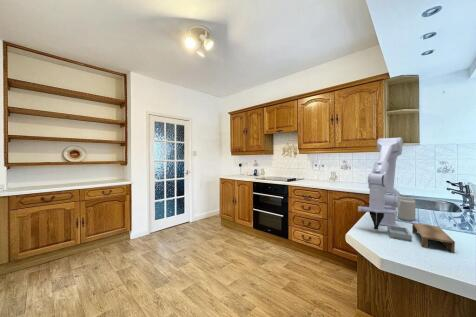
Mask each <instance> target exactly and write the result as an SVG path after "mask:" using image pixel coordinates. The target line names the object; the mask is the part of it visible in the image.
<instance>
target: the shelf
mask: <svg viewBox="0 0 476 317" xmlns="http://www.w3.org/2000/svg"><path fill="white" fill-rule="evenodd" d="M411 227H412V230H411V232H412V234H419V236H420V237H421V238H420V240H421V245H420V246H421V248H425V249H428V242H429V240H431V241H436V242H437V241H438V242H441V243H442V244H443V245H444V246H445V247H446V249H447V250H448V251H449V252H450V253H452V254H455V248H456V247H455V246H456V244H455V243H456V241H455V240H454V239H453V238H451V237H450V235H448V234H447V233H446V232H445V231H444V230H443V229H442V228H441V227H440V226H439V225H438V226H437V225H430V224H422V223H416V222H412V226H411Z"/></svg>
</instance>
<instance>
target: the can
mask: <svg viewBox="0 0 476 317" xmlns="http://www.w3.org/2000/svg"><path fill="white" fill-rule="evenodd" d="M416 203H417V202H416V200H415V198H413V197H410V196H400V205H399V207H397V218H398V219H400V220H403V221H407V222H408V221H409V222H413V221H415V220H416V206H417V205H416Z"/></svg>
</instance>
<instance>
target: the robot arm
mask: <svg viewBox="0 0 476 317" xmlns="http://www.w3.org/2000/svg"><path fill="white" fill-rule="evenodd" d="M403 146H404V142H403V138H402V137H383V138H381V137H379V138H378V139H377V142H376V147H377V150H378V152H379V154H378V159H377V160H376V161H374V163H373V166H372V171H371V173H369V174H368V176H367V184H368V189H369V198H368V199H369V200H368V202H369V203H368V204H369V206H361V205H359V206H358V208H357V212H365V213H369V216H370V218H371V220H372V224H373V227H374V228H373V229H374V230H377V231H378V230H379V227H380V225H381V226H387V227H388V225H391V226H398V224H397V223H396V222H397V221H396V219H397V218H396V217H398V210H397V208H398V207H399V205H400V197H401V193H400V191H398V190H397V189H396V188H395V178H396V177H395V176H396V167H397V165H396V164H397V160H398V157H399V156H401V155H402V153H403Z"/></svg>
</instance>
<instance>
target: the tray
mask: <svg viewBox="0 0 476 317" xmlns="http://www.w3.org/2000/svg"><path fill="white" fill-rule="evenodd" d="M387 232H388V235H389V239H393V240H398V241H399V240H400V241H404V242H409V243H410V242H411V243H412V241H413V240H412V238H413V236H412V235H413V234H411V232H410V230H409V228H408V227H405V226H398V225H397V226H391V225H388V226H387Z"/></svg>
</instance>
